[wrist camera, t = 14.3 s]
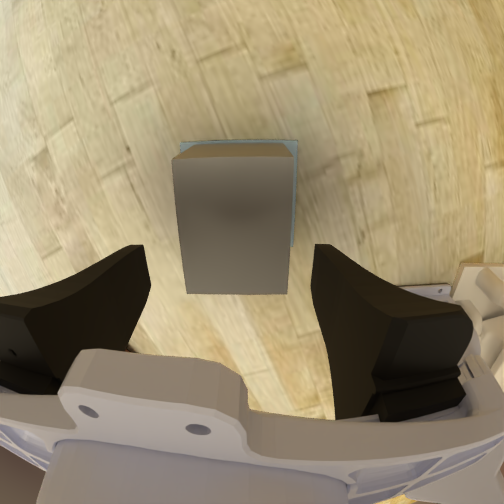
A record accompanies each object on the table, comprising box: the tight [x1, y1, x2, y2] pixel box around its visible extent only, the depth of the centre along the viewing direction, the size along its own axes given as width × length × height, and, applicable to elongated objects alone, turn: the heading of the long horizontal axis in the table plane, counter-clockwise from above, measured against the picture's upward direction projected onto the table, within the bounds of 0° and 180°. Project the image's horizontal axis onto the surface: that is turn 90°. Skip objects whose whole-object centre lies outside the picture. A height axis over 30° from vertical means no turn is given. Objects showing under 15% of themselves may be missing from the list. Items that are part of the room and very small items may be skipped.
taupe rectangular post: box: [172, 143, 294, 295], centre depth 18 cm, size 8×6×6 cm
